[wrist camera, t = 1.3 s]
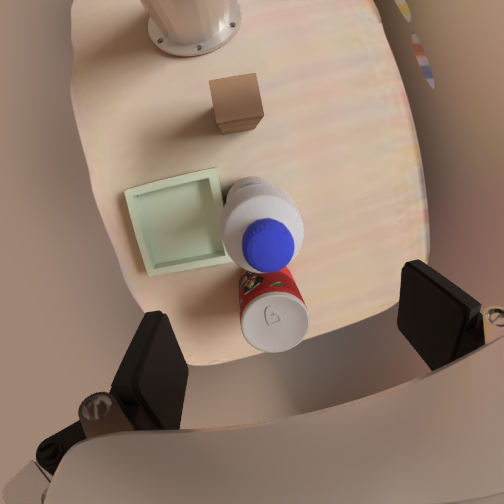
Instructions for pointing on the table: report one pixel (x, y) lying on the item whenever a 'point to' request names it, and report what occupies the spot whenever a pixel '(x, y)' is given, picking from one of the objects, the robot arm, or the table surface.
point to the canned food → (272, 310)
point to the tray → (178, 222)
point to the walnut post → (236, 103)
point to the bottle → (260, 226)
